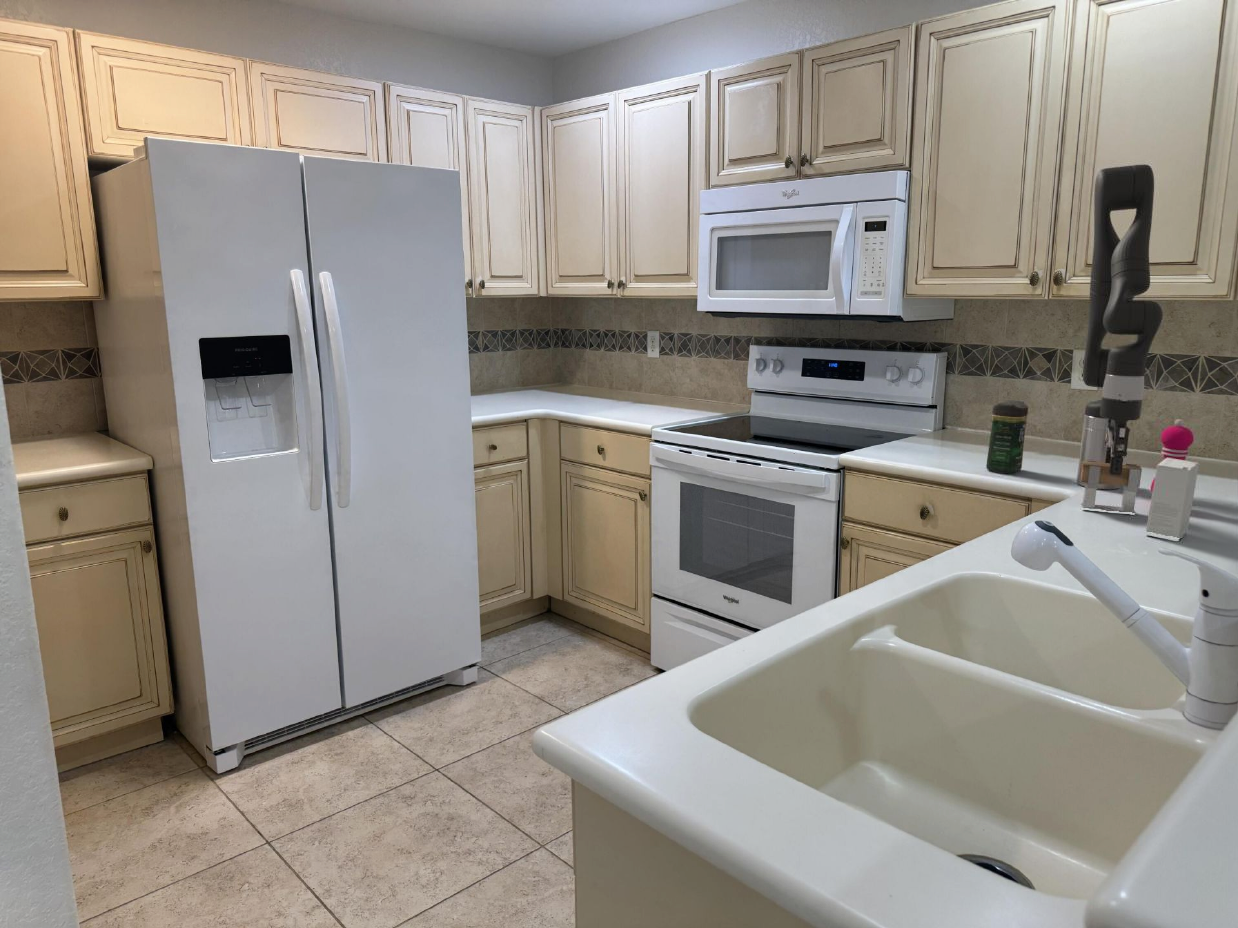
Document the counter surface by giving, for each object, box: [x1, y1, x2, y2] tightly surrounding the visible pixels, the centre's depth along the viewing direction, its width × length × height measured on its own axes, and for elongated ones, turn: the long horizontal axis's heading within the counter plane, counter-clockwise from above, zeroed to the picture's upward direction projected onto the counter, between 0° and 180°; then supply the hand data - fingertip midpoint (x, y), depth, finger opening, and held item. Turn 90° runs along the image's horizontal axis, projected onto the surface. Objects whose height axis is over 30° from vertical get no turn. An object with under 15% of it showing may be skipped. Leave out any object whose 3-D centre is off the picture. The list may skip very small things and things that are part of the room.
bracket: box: [1080, 460, 1142, 514], centre depth 187 cm, size 7×10×10 cm
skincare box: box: [1145, 458, 1200, 538], centre depth 169 cm, size 8×6×15 cm
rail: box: [1080, 461, 1143, 487], centre depth 187 cm, size 4×11×4 cm, turn 67°
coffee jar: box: [985, 400, 1029, 474], centre depth 226 cm, size 10×8×19 cm
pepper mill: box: [1150, 418, 1195, 493], centre depth 189 cm, size 7×7×20 cm
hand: (1112, 470), depth 187 cm, fingers open, 8 cm apart
